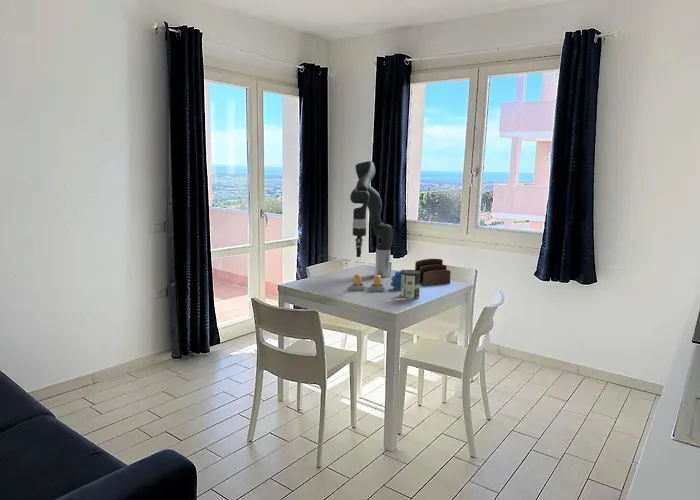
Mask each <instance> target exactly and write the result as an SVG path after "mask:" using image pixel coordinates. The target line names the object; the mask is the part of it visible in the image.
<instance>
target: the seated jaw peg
mask: <svg viewBox="0 0 700 500" xmlns="http://www.w3.org/2000/svg"><path fill="white" fill-rule="evenodd" d="M373 283H374V286H378V287H381V284H382V277H381V275H375V274H374V275H373Z"/></svg>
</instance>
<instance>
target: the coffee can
mask: <svg viewBox="0 0 700 500" xmlns="http://www.w3.org/2000/svg"><path fill="white" fill-rule="evenodd" d="M402 270H403V271H401V270H400V271H401V273H402V275H401V289H400V296H401V297H402V298H403V299H404V298H406V300H415V299H414V298H418V299H419V298H420V287H421V286H420V285H421V284H420V273H421V272H420V271H417V270H415V269H402Z"/></svg>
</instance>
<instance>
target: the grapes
mask: <svg viewBox="0 0 700 500" xmlns="http://www.w3.org/2000/svg"><path fill="white" fill-rule="evenodd" d="M403 270H404V269H400V271H399V270H398V271H396V272H395V273H394V275H393V276H391V278H390V280H391V282H390V286H391V287H393V290H398V289H399V290H401V275H402V273H401V271H403Z"/></svg>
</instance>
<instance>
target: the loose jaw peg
mask: <svg viewBox="0 0 700 500" xmlns="http://www.w3.org/2000/svg"><path fill="white" fill-rule="evenodd" d="M353 279H354V280H353V281H354V282H353V283H354V286H361V283H362V273H361V274H360V273H356V274H354V277H353Z"/></svg>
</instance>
